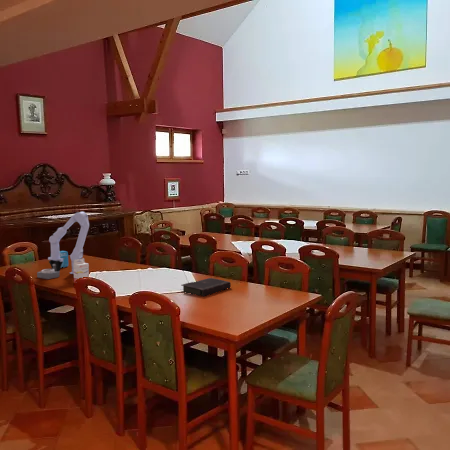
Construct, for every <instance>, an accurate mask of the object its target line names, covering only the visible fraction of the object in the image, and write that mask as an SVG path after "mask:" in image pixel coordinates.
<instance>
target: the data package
mask: <svg viewBox="0 0 450 450" xmlns="http://www.w3.org/2000/svg"><path fill="white" fill-rule="evenodd" d="M59 251H60V258H62V259H63V263H62V265H61V268H62V267H63V268H67V267H69V252H68V251H66V250H59ZM61 268H60V269H61Z"/></svg>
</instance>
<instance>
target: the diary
mask: <svg viewBox="0 0 450 450" xmlns="http://www.w3.org/2000/svg"><path fill="white" fill-rule="evenodd" d="M231 285H232V284H231V282H230V281H227V280H222V279H218V278H213V277H208V278H204V279H200V280H198V281H191V282H187V283H183V284H181V285H180V286H182V290H183V291H182V292H186V293H185V294H187V293H191V294H190V295H195V294H196V295H195V296H200V295H201V296H200V297H207V296H210V295H213V294H212V293H214V294H216V293H215V292H217V293H219V292H218V291H220V292H222V291H221V290H223V291H225V290H224V289H226V290H228V289H227V288H230V287H231ZM230 289H231V288H230ZM209 294H210V295H209ZM206 295H207V296H206Z"/></svg>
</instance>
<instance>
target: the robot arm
mask: <svg viewBox="0 0 450 450" xmlns="http://www.w3.org/2000/svg"><path fill="white" fill-rule="evenodd" d="M74 223H78V224H79V226H80V230H79V233H78V237H77V240H76V244H75V247H74V248H73V250H72V253H71V254H70V255H69V257H70V260H71V272H69V274H71V275H74V260H77V259H83V258H84V257H83V256H84V248H83V247H84V245H85V241H86V238H87V235H88V232H89V228H90V221H89V216H88V214H87V213H86V212H85V211H80V212H78V211H77V212H75V213H74V214H73V215H72V216H71V217H70V218H69V219H68V220H67V222H66V223H65V224H64V225H63V226H61V227H58V228H57V229H56V231H55V232H54V233H53V234H52V235H51V236H49V239H48V242H49V243H50V256H48V257H47V260H48V264H49V265H50V266H51V269H53V264H54V263H55V264H56V269H57V271H60V272H61V265H62V263H63V259H62V258H60V251H61V250H60V241H61V239H62V238H63V237H64V236H65V235H66V234H67V232H68V231H67V230H68V229H69V228H70V227H72V225H74ZM77 262H81V261H80V260H79V261H77Z"/></svg>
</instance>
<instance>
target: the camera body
mask: <svg viewBox="0 0 450 450" xmlns="http://www.w3.org/2000/svg"><path fill="white" fill-rule="evenodd" d="M36 276H37V278H39V279H44V280H50V279H52V280H53V279H56V278H59V277H60V273H59V272H58V271H55V270H54V269H52V268H44V269H42V270H40V271H37V272H36Z"/></svg>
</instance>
